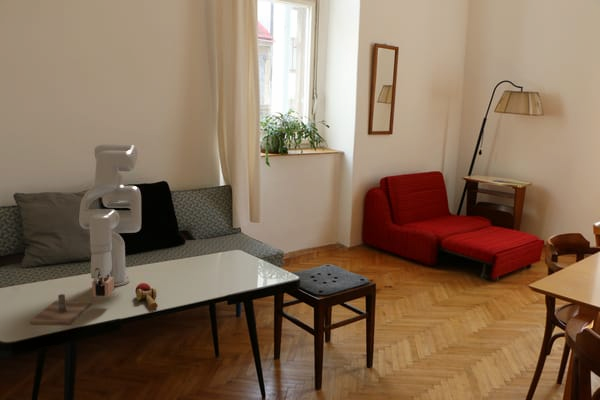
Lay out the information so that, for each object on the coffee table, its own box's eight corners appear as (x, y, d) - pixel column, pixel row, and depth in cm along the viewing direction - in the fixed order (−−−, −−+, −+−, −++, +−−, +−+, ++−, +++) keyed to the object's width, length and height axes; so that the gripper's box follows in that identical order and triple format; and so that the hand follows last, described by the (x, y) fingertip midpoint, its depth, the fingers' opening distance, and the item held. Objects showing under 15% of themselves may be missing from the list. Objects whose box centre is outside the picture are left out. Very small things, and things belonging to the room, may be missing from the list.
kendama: (165, 310, 204) (152, 290, 219) (163, 296, 202) (149, 277, 216) (145, 317, 201) (133, 296, 215) (143, 303, 198) (130, 283, 213)
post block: (55, 303, 205) (54, 285, 204) (91, 303, 205) (91, 286, 204) (30, 323, 185) (28, 304, 184) (70, 324, 186) (69, 305, 184)
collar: (98, 289, 205) (97, 276, 203) (114, 290, 205) (113, 276, 203) (92, 296, 199) (92, 282, 198) (108, 296, 199) (108, 282, 198)
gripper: (99, 239, 206) (101, 283, 210) (82, 254, 189) (84, 300, 193) (119, 240, 206) (120, 283, 210) (103, 254, 189) (105, 301, 193)
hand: (103, 291), depth 202 cm, fingers closed on collar, 6 cm apart
